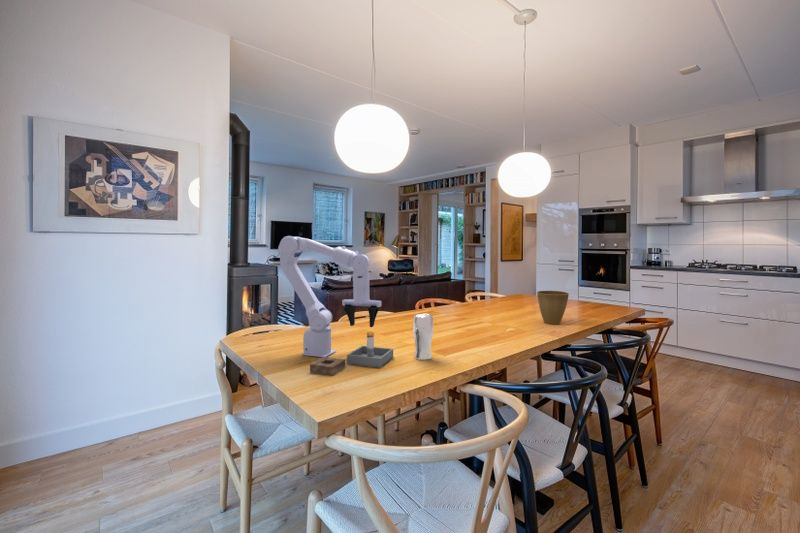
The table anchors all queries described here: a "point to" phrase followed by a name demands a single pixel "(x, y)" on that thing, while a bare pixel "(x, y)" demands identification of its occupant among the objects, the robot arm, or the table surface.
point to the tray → (377, 361)
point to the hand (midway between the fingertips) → (362, 326)
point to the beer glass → (423, 335)
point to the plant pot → (552, 305)
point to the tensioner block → (327, 366)
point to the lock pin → (370, 344)
